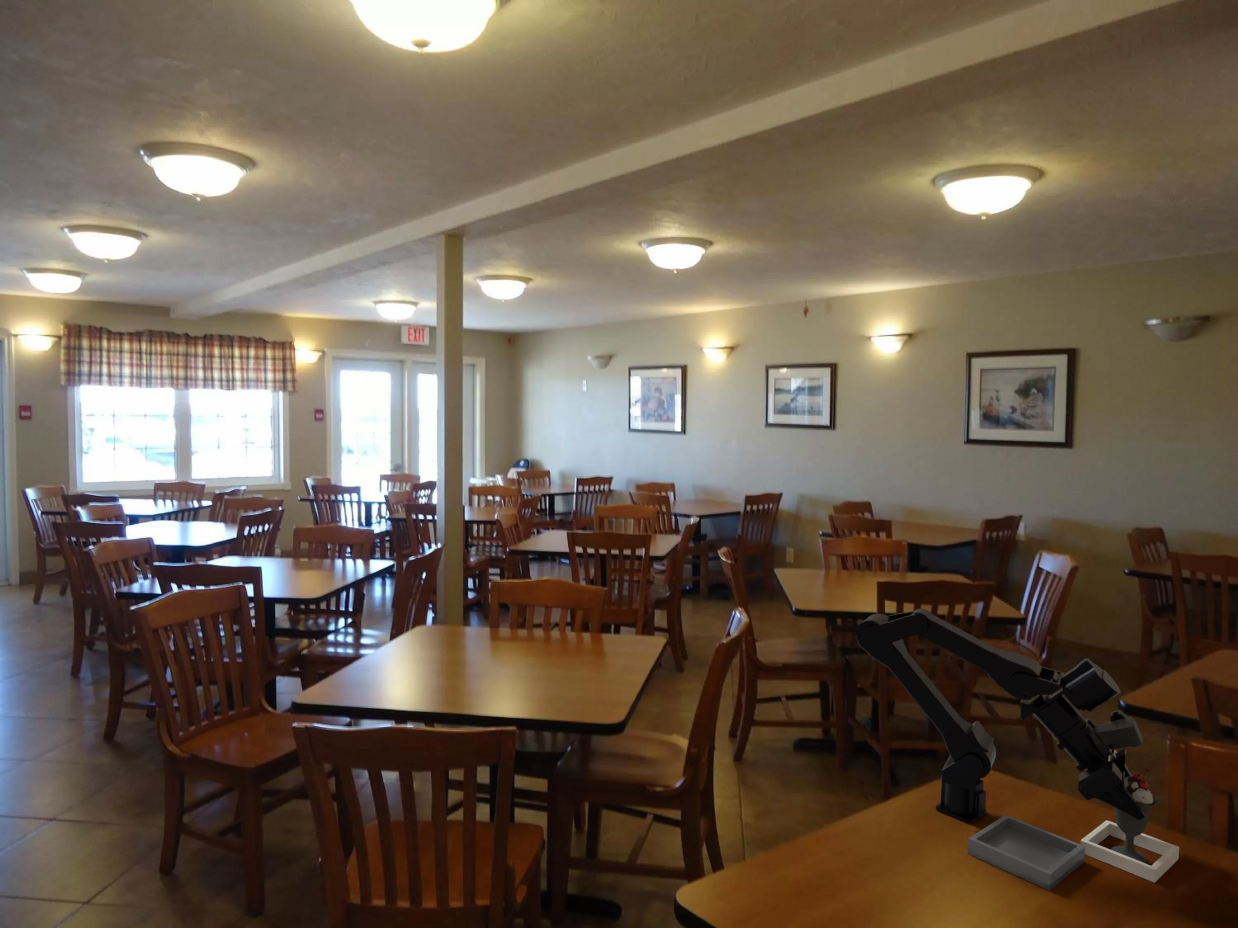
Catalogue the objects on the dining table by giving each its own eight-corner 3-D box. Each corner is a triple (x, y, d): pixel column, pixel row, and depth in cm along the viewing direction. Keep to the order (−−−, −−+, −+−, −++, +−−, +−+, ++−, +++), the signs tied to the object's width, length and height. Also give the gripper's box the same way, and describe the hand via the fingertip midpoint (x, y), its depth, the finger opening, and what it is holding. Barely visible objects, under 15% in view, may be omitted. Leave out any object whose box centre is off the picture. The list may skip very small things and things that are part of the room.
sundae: (1161, 869, 126) (1167, 776, 125) (1114, 863, 128) (1119, 771, 127) (1143, 847, 133) (1149, 758, 132) (1098, 842, 134) (1103, 754, 133)
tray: (967, 853, 130) (968, 838, 130) (1005, 828, 138) (1005, 814, 138) (1049, 890, 120) (1050, 874, 120) (1084, 861, 128) (1085, 846, 128)
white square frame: (1079, 851, 131) (1080, 840, 131) (1105, 831, 138) (1106, 819, 138) (1154, 882, 123) (1155, 869, 123) (1178, 858, 130) (1179, 846, 129)
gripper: (1107, 717, 123) (1191, 808, 118) (1111, 683, 138) (1186, 762, 133) (1046, 755, 128) (1124, 844, 122) (1057, 718, 143) (1126, 795, 138)
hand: (1142, 809), depth 129 cm, fingers closed on sundae, 6 cm apart
